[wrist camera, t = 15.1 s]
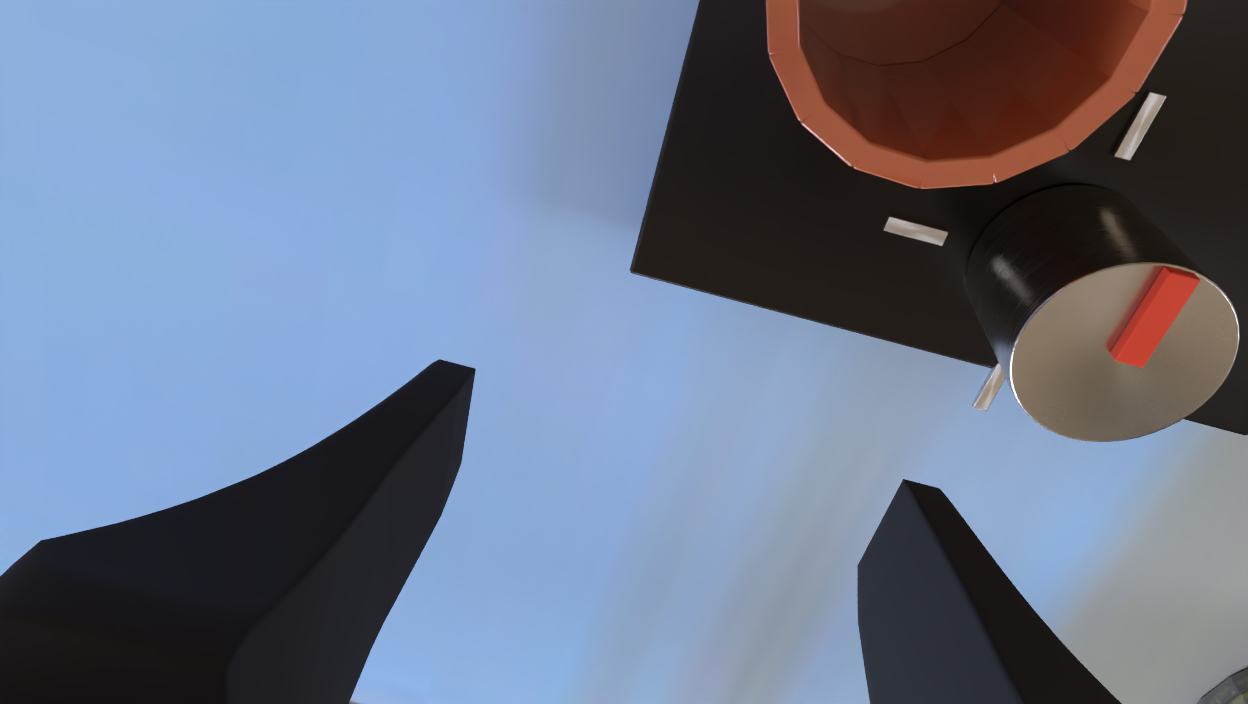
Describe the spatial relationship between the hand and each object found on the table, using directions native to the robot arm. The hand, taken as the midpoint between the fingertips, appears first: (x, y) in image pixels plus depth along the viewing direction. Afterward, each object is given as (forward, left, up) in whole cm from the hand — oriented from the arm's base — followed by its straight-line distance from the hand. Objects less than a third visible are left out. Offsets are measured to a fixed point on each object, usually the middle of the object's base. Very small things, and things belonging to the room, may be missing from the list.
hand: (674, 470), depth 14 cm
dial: (+8, -1, -8) cm, 11 cm away
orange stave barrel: (+4, +7, -8) cm, 11 cm away
